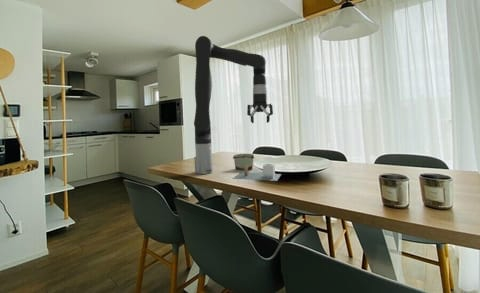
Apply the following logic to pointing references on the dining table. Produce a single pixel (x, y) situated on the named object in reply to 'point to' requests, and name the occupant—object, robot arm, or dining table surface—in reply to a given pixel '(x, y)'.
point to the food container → (243, 161)
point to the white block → (268, 170)
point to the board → (254, 176)
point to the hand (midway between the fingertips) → (260, 122)
